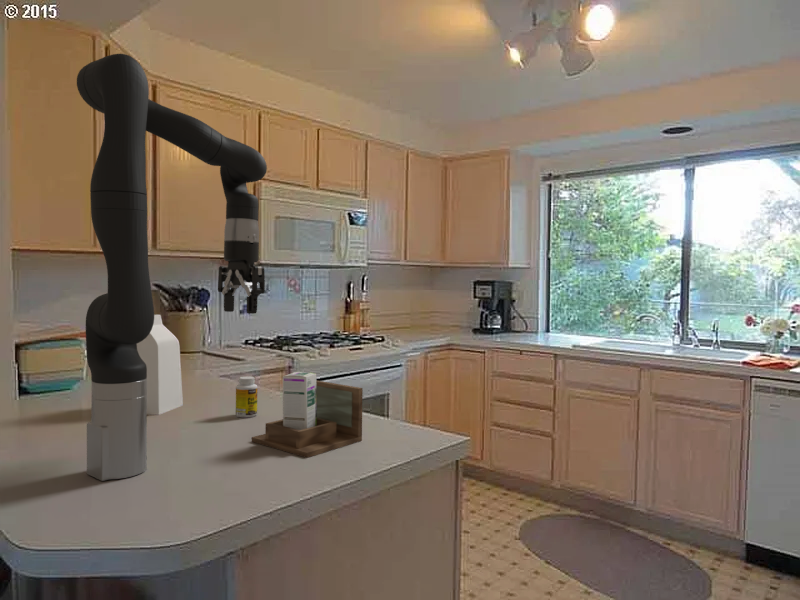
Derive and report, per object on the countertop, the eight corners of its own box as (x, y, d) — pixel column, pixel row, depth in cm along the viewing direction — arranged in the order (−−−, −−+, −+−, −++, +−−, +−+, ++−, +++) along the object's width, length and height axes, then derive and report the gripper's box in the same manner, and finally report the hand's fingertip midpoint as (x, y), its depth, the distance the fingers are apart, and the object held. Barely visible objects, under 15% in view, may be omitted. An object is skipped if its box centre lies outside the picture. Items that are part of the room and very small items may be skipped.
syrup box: (306, 442, 124) (307, 376, 123) (281, 440, 125) (282, 374, 125) (317, 436, 129) (317, 372, 129) (292, 434, 131) (293, 370, 130)
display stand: (307, 457, 117) (307, 399, 116) (251, 441, 128) (252, 388, 127) (361, 440, 130) (362, 388, 130) (307, 427, 141) (307, 378, 141)
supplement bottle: (248, 419, 148) (248, 379, 148) (231, 416, 151) (231, 378, 150) (261, 414, 154) (261, 376, 153) (244, 412, 156) (245, 375, 155)
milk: (158, 414, 152) (159, 316, 151) (119, 412, 154) (119, 315, 153) (182, 405, 164) (183, 314, 163) (145, 403, 165) (146, 313, 165)
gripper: (208, 240, 130) (207, 311, 130) (246, 237, 121) (245, 314, 121) (237, 242, 136) (235, 311, 136) (275, 240, 127) (273, 313, 127)
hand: (240, 312), depth 129 cm, fingers open, 8 cm apart
